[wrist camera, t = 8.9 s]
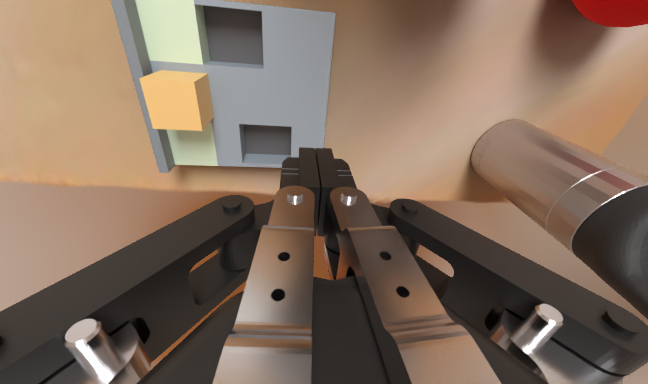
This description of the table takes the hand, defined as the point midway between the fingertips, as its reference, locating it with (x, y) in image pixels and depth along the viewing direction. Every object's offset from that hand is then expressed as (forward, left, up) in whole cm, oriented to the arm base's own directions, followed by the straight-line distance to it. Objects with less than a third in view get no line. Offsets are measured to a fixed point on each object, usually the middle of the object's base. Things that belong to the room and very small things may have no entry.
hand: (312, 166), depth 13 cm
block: (+12, +2, -19) cm, 23 cm away
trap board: (+6, +2, -22) cm, 23 cm away
